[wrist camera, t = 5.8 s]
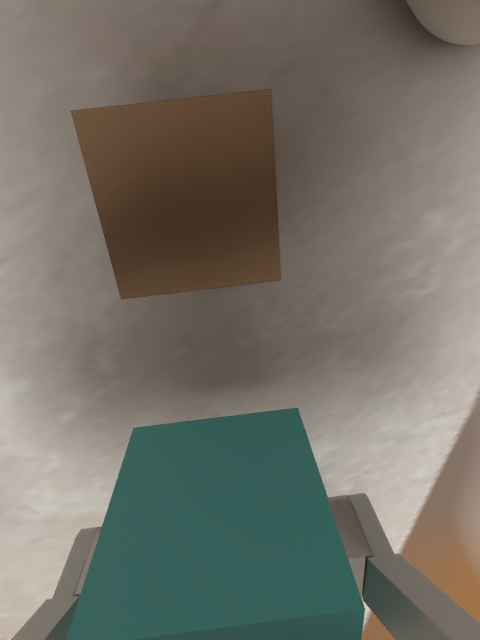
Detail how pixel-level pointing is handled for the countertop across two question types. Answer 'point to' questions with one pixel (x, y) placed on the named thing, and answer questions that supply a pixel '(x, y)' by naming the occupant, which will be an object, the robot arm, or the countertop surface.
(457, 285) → the countertop surface
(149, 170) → the walnut block
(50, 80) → the countertop surface
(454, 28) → the plastic bottle
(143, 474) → the teal block
